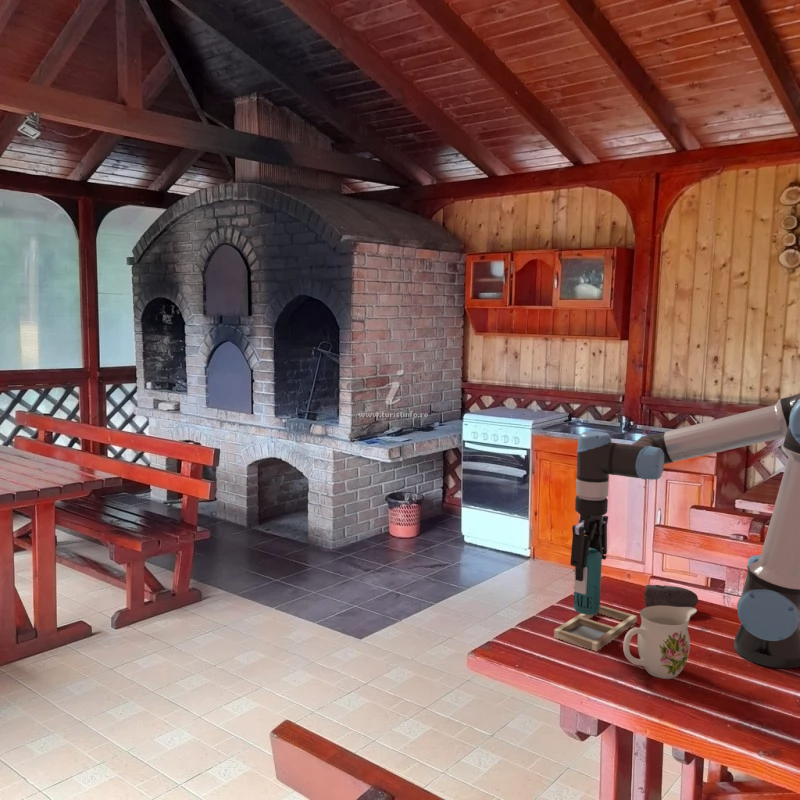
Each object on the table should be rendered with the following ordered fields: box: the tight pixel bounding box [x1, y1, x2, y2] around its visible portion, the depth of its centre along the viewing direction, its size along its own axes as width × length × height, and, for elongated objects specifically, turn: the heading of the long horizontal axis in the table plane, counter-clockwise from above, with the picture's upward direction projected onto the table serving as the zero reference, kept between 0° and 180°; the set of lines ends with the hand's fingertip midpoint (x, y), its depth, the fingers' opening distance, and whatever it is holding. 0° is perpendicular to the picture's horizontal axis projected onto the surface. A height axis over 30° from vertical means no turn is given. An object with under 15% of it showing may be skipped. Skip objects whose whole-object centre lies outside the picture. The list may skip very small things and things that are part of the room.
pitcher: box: [622, 606, 698, 680], centre depth 166 cm, size 11×18×14 cm, turn 106°
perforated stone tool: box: [643, 584, 699, 608], centre depth 200 cm, size 15×5×7 cm, turn 89°
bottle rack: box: [553, 604, 638, 651], centre depth 188 cm, size 22×11×2 cm, turn 138°
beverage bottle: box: [573, 535, 603, 615], centre depth 182 cm, size 6×7×20 cm
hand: (587, 588), depth 182 cm, fingers closed on beverage bottle, 6 cm apart
